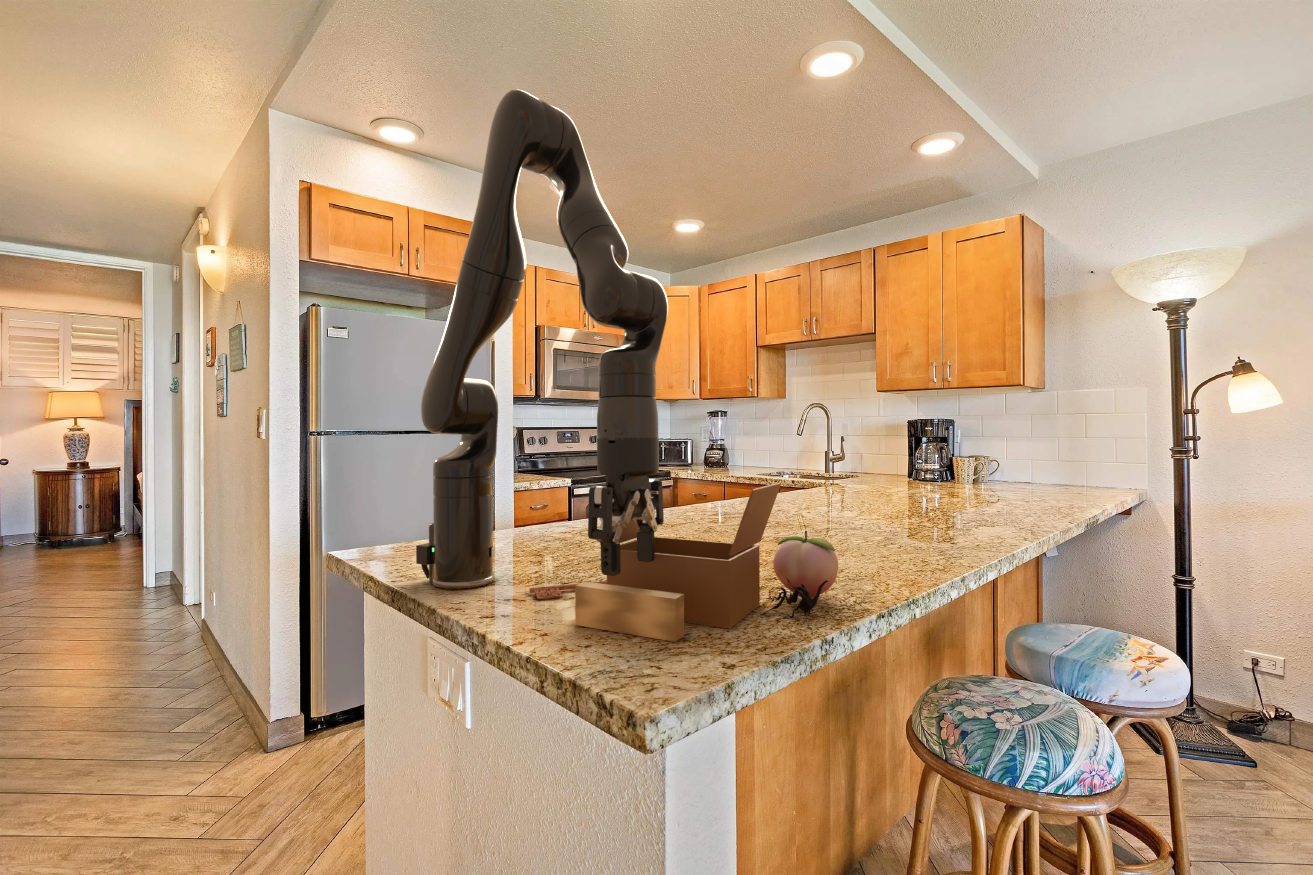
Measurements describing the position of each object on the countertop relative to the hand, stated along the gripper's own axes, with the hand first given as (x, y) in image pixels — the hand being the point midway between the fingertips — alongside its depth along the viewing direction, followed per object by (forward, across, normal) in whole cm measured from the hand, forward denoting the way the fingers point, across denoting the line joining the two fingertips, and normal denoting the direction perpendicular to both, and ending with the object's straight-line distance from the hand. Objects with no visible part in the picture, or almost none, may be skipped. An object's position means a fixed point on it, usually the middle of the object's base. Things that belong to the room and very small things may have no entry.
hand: (629, 567), depth 75 cm
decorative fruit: (+8, -24, +16) cm, 30 cm away
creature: (+8, -16, +16) cm, 24 cm away
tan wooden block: (+8, 0, 0) cm, 8 cm away
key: (+8, -13, -16) cm, 22 cm away
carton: (+8, -12, +2) cm, 14 cm away
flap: (-5, -12, +12) cm, 18 cm away
